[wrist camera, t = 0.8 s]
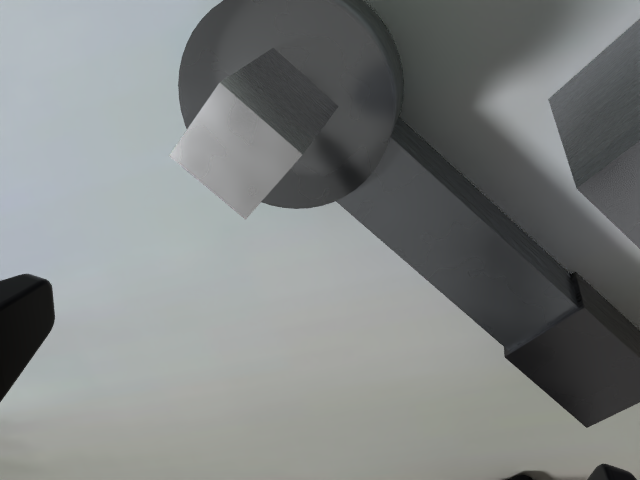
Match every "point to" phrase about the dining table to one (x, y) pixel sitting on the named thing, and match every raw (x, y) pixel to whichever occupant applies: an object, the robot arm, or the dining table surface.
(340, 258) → the dining table surface
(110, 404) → the dining table surface
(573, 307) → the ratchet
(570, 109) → the brushed metal cube
